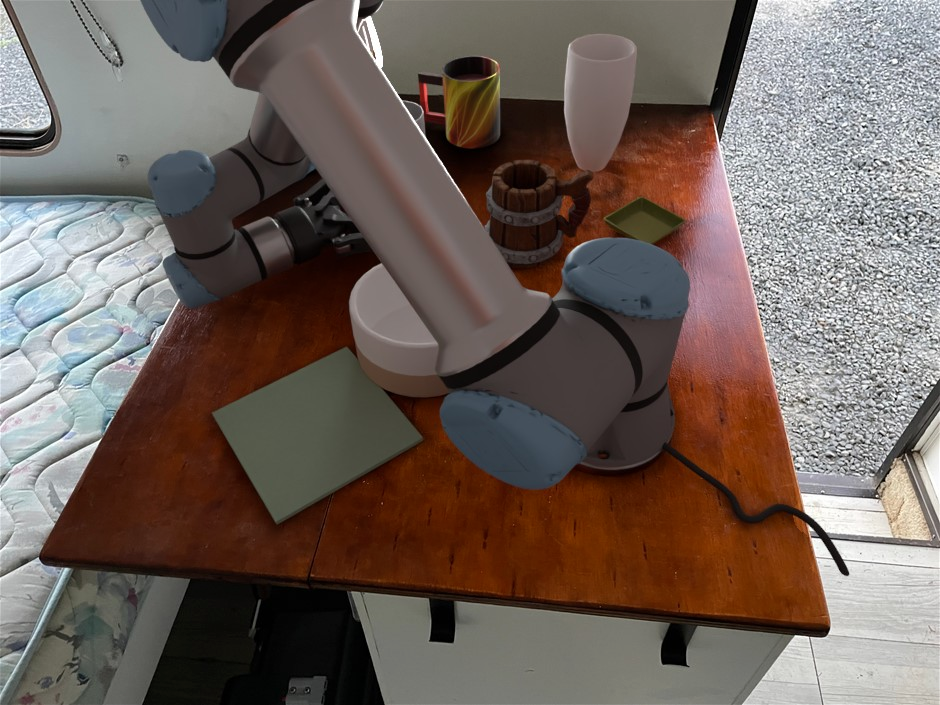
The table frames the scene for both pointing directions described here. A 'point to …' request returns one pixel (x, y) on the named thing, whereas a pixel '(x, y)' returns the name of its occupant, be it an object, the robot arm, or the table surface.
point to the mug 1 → (466, 100)
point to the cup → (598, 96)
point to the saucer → (644, 221)
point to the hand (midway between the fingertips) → (414, 186)
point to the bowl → (392, 338)
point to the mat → (314, 432)
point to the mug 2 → (533, 211)
